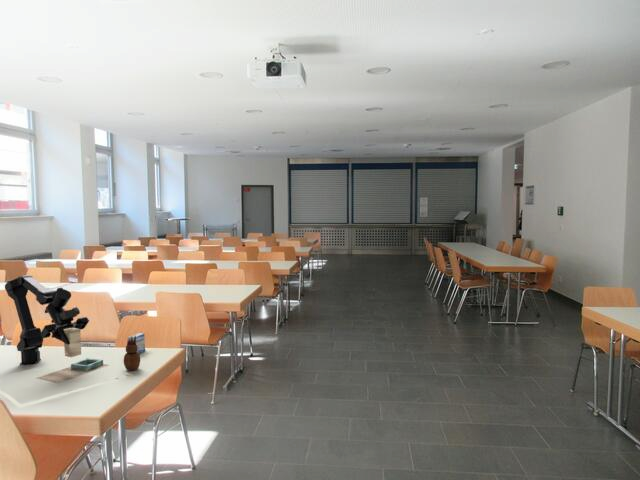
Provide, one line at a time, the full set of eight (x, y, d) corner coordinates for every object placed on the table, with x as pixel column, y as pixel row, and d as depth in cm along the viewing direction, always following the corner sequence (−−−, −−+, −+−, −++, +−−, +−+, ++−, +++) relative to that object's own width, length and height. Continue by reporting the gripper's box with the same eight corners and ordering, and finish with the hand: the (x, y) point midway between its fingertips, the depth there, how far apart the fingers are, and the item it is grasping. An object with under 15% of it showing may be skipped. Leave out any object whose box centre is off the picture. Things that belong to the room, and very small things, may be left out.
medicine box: (136, 355, 224) (135, 337, 224) (127, 354, 225) (127, 337, 224) (145, 350, 232) (144, 333, 231) (137, 350, 233) (136, 333, 232)
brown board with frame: (58, 385, 185) (58, 377, 185) (35, 380, 191) (35, 373, 191) (109, 367, 207) (109, 360, 206) (87, 363, 213) (87, 356, 213)
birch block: (64, 355, 198) (63, 330, 197) (74, 353, 202) (73, 327, 201) (71, 357, 196) (70, 331, 195) (81, 354, 199) (80, 329, 199)
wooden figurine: (143, 368, 204) (142, 334, 203) (133, 372, 199) (131, 337, 198) (131, 366, 207) (130, 333, 206) (121, 370, 202) (120, 336, 201)
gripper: (43, 306, 191) (60, 336, 186) (85, 298, 207) (102, 326, 203) (33, 323, 196) (49, 352, 191) (75, 314, 212) (91, 341, 207)
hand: (74, 342), depth 198 cm, fingers closed on birch block, 4 cm apart
